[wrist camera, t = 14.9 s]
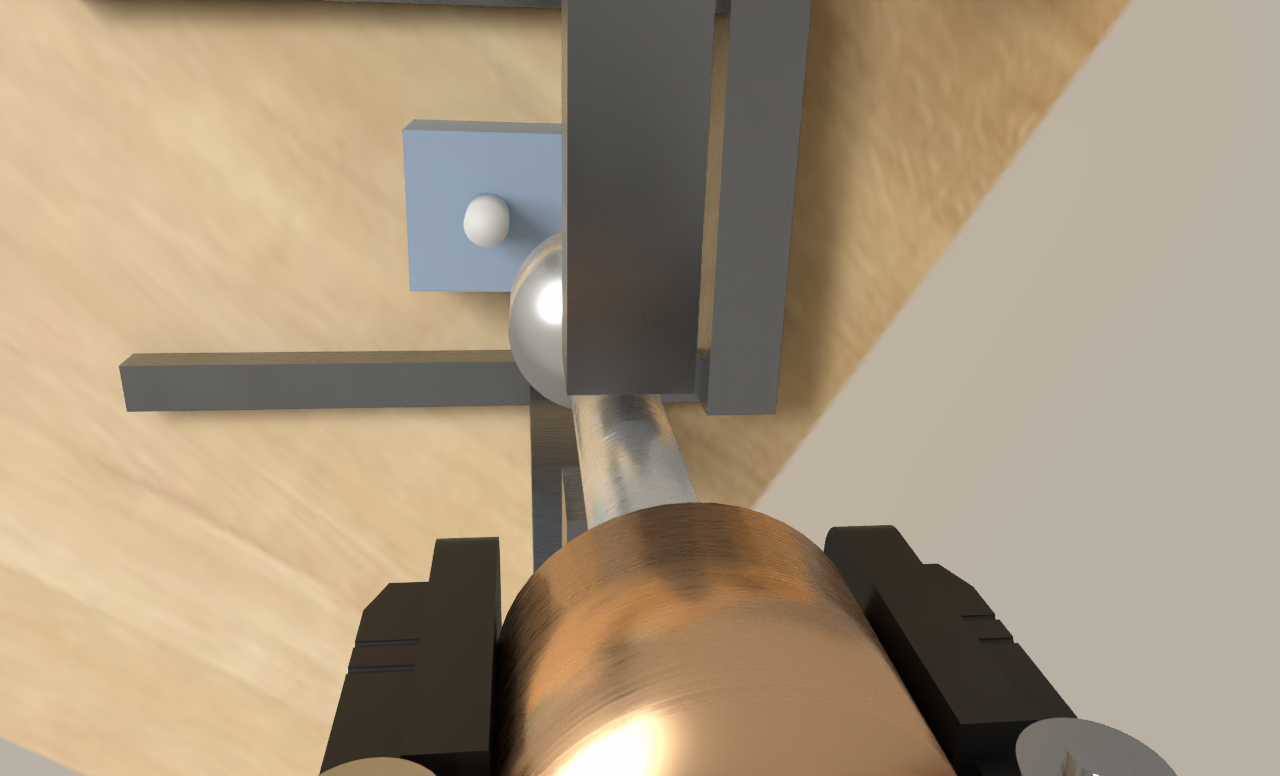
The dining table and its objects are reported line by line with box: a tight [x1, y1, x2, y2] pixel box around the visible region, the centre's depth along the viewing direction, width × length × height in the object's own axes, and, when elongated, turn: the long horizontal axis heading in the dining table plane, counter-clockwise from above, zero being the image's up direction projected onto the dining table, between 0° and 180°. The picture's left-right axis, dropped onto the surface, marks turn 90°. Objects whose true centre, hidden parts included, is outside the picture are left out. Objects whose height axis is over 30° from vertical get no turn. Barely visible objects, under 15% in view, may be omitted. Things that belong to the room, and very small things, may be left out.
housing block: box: [402, 120, 562, 292], centre depth 36 cm, size 6×6×6 cm
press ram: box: [492, 231, 957, 776], centre depth 15 cm, size 4×4×17 cm
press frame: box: [119, 0, 812, 574], centre depth 27 cm, size 22×27×26 cm
